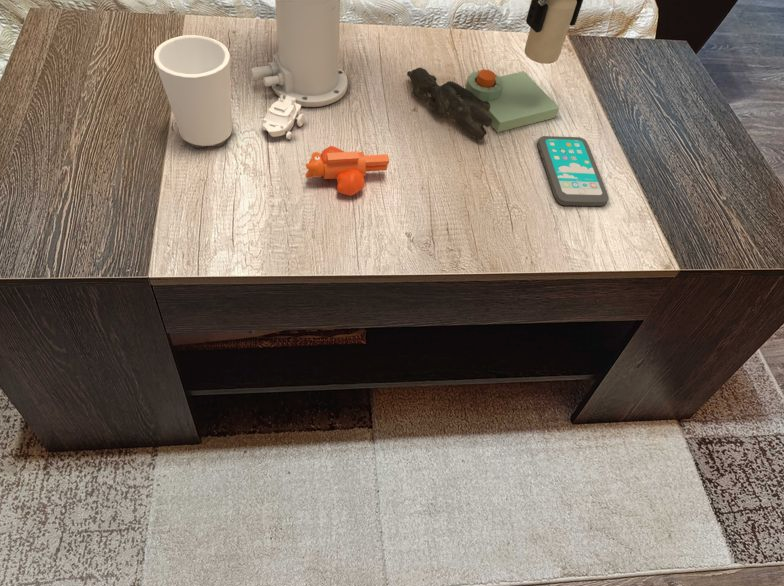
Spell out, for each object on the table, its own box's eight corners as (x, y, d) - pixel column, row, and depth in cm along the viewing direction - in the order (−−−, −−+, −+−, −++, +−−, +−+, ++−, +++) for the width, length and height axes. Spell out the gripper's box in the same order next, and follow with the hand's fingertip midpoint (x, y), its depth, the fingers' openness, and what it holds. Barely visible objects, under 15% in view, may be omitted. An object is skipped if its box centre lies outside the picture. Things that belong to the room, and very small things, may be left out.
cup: (198, 165, 89) (181, 85, 79) (159, 130, 93) (138, 49, 82) (253, 138, 94) (245, 59, 83) (214, 106, 97) (201, 26, 87)
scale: (492, 133, 100) (497, 115, 98) (457, 93, 106) (461, 74, 103) (556, 117, 105) (562, 99, 102) (519, 79, 110) (525, 60, 107)
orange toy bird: (386, 136, 88) (302, 140, 86) (395, 182, 87) (310, 189, 84) (381, 155, 93) (302, 160, 91) (390, 200, 91) (309, 206, 89)
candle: (557, 67, 95) (579, 1, 86) (522, 60, 95) (541, -7, 87) (559, 48, 98) (581, -18, 90) (525, 41, 98) (543, -26, 90)
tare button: (482, 90, 102) (484, 81, 100) (472, 79, 103) (474, 71, 102) (497, 86, 103) (499, 78, 101) (487, 76, 104) (489, 68, 103)
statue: (467, 139, 95) (387, 77, 103) (482, 150, 99) (404, 91, 108) (493, 103, 93) (409, 43, 101) (506, 116, 97) (425, 58, 106)
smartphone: (558, 200, 91) (536, 134, 100) (556, 205, 92) (534, 139, 100) (612, 201, 93) (586, 136, 101) (609, 206, 94) (584, 141, 102)
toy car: (308, 118, 98) (307, 95, 94) (285, 147, 93) (284, 124, 90) (280, 109, 98) (278, 86, 95) (256, 138, 94) (254, 114, 90)
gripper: (627, -136, 82) (580, 3, 97) (521, -126, 76) (489, 20, 91) (663, -112, 79) (609, 28, 94) (555, -99, 73) (516, 47, 88)
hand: (550, 23), depth 92 cm, fingers closed on candle, 5 cm apart
